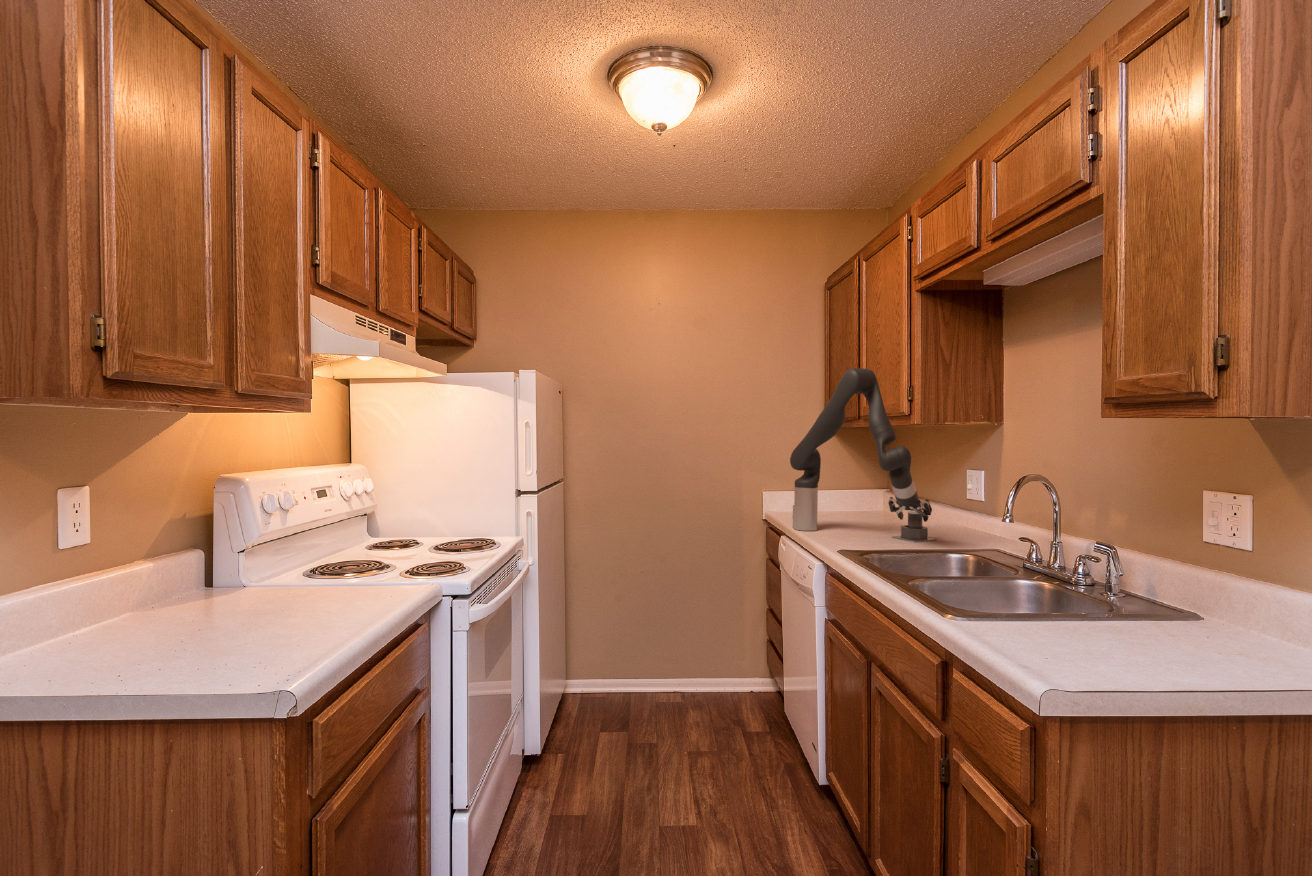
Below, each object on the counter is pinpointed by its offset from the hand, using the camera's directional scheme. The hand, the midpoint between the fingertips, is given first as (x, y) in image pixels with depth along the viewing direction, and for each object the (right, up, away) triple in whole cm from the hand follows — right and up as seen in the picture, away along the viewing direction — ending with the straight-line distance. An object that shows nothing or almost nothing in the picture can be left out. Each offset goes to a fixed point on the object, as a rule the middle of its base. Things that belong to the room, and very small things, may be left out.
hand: (913, 518), depth 232 cm
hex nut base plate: (0, -8, 0) cm, 8 cm away
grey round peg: (0, -7, 0) cm, 7 cm away
